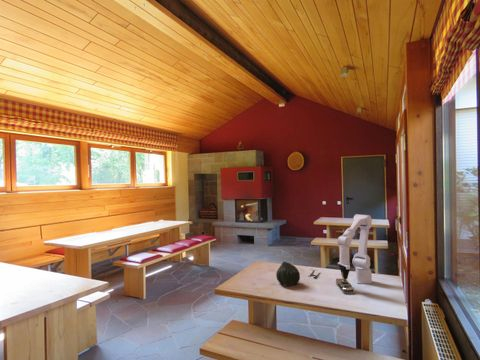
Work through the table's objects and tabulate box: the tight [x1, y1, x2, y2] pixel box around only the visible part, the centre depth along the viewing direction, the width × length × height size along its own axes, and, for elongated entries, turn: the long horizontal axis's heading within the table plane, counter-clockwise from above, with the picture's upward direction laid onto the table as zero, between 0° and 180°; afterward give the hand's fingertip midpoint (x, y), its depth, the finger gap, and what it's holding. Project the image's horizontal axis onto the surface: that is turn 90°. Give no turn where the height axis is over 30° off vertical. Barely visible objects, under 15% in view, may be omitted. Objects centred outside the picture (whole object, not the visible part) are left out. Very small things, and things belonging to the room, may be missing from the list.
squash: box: [275, 261, 301, 287], centre depth 195 cm, size 14×15×15 cm
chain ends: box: [335, 278, 355, 295], centre depth 184 cm, size 6×17×4 cm, turn 178°
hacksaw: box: [309, 268, 321, 280], centre depth 216 cm, size 24×10×2 cm, turn 152°
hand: (344, 277), depth 184 cm, fingers closed on brass pin, 2 cm apart
